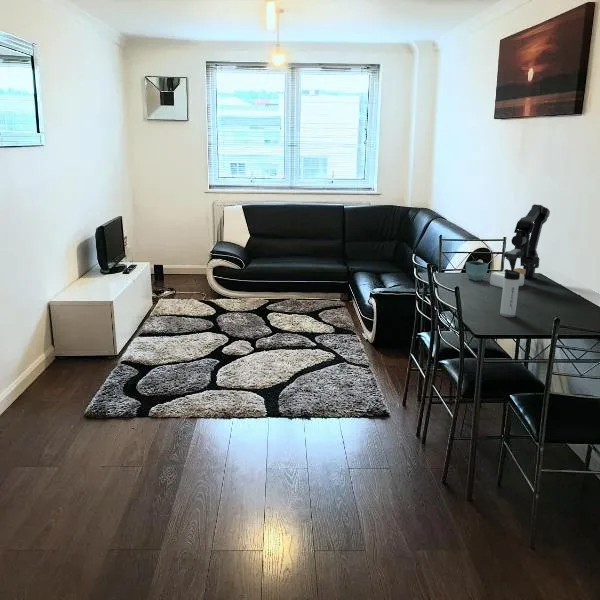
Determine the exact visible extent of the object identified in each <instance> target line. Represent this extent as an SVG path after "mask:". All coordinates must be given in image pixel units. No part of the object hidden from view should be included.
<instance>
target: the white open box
mask: <svg viewBox="0 0 600 600" xmlns="http://www.w3.org/2000/svg"><path fill="white" fill-rule="evenodd" d="M489 277H490V278H489V285H491V286H494V287H498V288H502V289H503V284H504V278H501V277H497V276H493V275H491V274H490V276H489ZM524 282H525V278H524V276H522V277H520V278H519V287H522V286H524Z"/></svg>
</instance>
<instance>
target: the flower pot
mask: <svg viewBox="0 0 600 600" xmlns="http://www.w3.org/2000/svg"><path fill="white" fill-rule="evenodd" d="M488 268H489V264H488V263H486V262H481V261H478V260H477V261H467V262H465V273H466V276H467V278H468V279H469V280H472V281H482V280H483V279H484V278H485V277H486V275H487V272H488Z"/></svg>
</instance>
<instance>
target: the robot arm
mask: <svg viewBox="0 0 600 600" xmlns="http://www.w3.org/2000/svg"><path fill="white" fill-rule="evenodd" d="M550 212H551V211H550V209H549V208H548V207H545V206H543V205H542V204H536V203H534V204H532V206H531V208H530V210H529V211H528V213H527V214H526V215H525V216H523V217H521V218H519V220H518V221H517V223H516V224H515V225H516V226H515V228H514V232H513V233H515V235H514V236H513V237H512V238H511V239H510V240H511V244H512V245H513V246H514V248H513V249H511V250H509V251H504V253H503V257H504V258H505V259H506V260H507V261H508V263H509V265H510V270H514V269H516V268H515V267H516V263H517V259H520V267H522V269H526V272H525V274H524V279H528V280H532V279H537V276H536V275H535V273H536V269H539V268H540V257H539V255H538V251H537V250H538V249H537V248H538V244H539V240H540V236H541V232H542V229H543V225H544V224H545V223H546V222H547V220H548V217H550V214H551V213H550Z"/></svg>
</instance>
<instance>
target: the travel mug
mask: <svg viewBox="0 0 600 600" xmlns="http://www.w3.org/2000/svg"><path fill="white" fill-rule="evenodd" d="M503 271H505V276H504V284H503V288H502V293H501V294H502V295H501V302H500V310H499V311H500V312H499V316H502V317H504V318H515V317H516V311H517V303H518V295H519V287H520V286H519V278H520V273H519V272H517V271H514V270H511V269H504V270H503Z"/></svg>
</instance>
